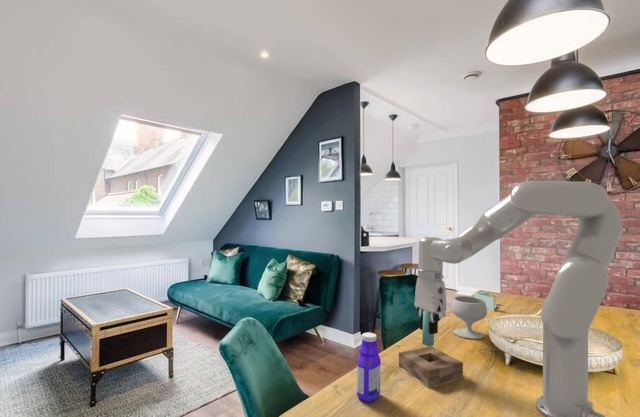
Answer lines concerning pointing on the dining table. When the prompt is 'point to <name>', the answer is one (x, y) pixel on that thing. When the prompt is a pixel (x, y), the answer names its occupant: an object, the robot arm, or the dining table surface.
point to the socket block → (430, 366)
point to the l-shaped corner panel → (486, 299)
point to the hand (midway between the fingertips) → (428, 330)
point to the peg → (427, 329)
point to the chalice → (469, 315)
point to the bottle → (368, 369)
